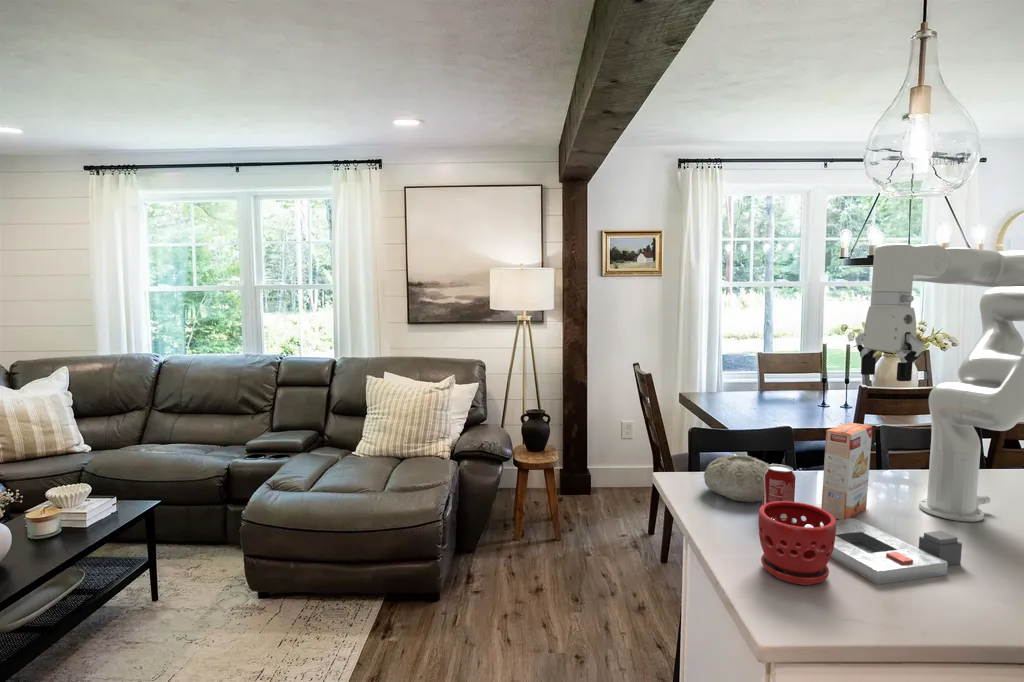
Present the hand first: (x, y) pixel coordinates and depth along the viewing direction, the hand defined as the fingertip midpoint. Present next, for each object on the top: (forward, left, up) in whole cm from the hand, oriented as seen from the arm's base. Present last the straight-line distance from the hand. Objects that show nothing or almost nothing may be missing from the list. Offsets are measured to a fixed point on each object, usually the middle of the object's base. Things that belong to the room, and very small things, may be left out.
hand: (885, 377), depth 131 cm
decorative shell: (+18, -25, -34) cm, 46 cm away
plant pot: (+34, +15, -34) cm, 51 cm away
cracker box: (0, -9, -34) cm, 35 cm away
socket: (+14, +11, -34) cm, 39 cm away
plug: (+2, +17, -34) cm, 38 cm away
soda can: (+18, -10, -34) cm, 40 cm away
